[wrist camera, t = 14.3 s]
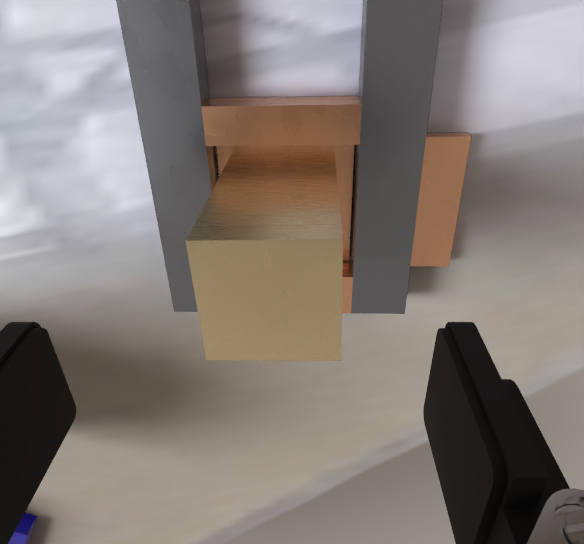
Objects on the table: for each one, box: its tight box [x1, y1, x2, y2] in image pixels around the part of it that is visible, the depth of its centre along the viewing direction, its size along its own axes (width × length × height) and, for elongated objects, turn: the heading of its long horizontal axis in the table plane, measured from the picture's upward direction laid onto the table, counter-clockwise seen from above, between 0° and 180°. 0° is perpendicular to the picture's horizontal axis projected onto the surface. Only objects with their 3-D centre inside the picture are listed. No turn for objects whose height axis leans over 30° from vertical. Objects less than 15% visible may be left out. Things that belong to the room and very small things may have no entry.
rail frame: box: [116, 0, 471, 314], centre depth 17 cm, size 25×13×2 cm, turn 1°
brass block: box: [186, 152, 343, 361], centre depth 18 cm, size 4×4×8 cm
